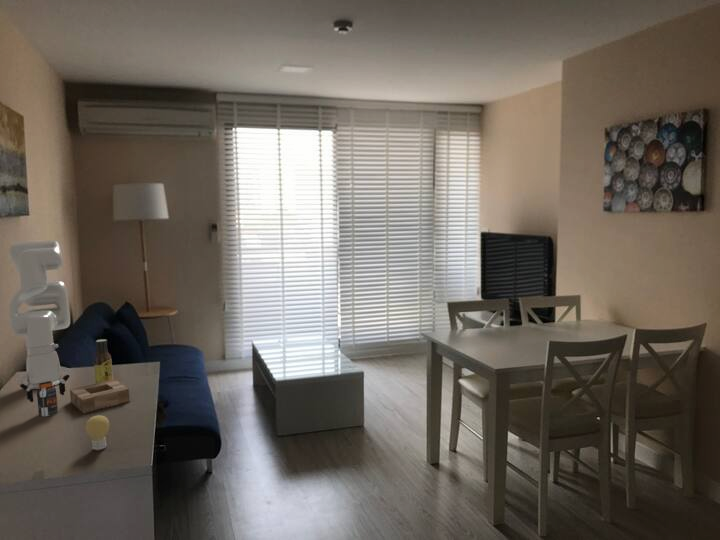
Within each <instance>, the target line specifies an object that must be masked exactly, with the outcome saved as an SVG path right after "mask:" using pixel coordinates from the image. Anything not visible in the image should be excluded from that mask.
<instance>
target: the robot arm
mask: <svg viewBox="0 0 720 540" xmlns="http://www.w3.org/2000/svg"><path fill="white" fill-rule="evenodd" d="M9 256H10V258H11V260H12V262H13V264H14V266H16V268H17V270H18V273H19V279H20V280H19V281H20V289H18V290H17V291H16V293H14V295H13V297H12V298H11V300H10V303H9V306H8V315H9V325H10V330H11V332H12V333H13V334H15V335H18V336H20V335H21V336H23V335H24V337H25V338H24V339H25V343H26V351H27V352H26V353H27V355H26V362H25V363H26V364H25V366H26V373H24V374H22V375H21V376H20V377H17V378H16V380H15V382H16V383H17V385H18V386H19V387H20V388H22V389H23V390H25V391H26V399H27V400H28V401H29V402H31V403H33V402H34V393H33V390H39V389H40V388H39V384H40V383H45V382H50V381H51V382H52V387H54V385H55V386H57V385H58V388H59V394H60V395H61V396H64V395H65V393H66V386H65V385H66V382H67V381H68V379H70V376H71V374H72V369H71V368H68V367H66V366H61V364H60V363H61V362H60V359H59V356H58V353H57V351H56V349H57V348H59V343H54V336H53V334H54V333H53V331H57V330H58V331H59V330H65V329H67V328H69V327H70V325H71V312H70V311H71V310H70V306H69V305H70V303H69V296H68V290H67V286H66V284H65V282H63V281H61V280H51V281H48V279H47V271H53V270H60V269H61V268H63V267H62V266H63V263H64V260H63V259H64V258H63V252H62V249H61V245H60V244H59V242H58V241H56V240H38V241H23V242H16V243H13V244H11V245H10V246H9ZM23 303H24V304H25V306H28V307H39V306H48V305H49V307H42V308H33V309H28V310H26V311H24V312H20V313H19V307H21V305H22V304H23ZM50 305H55V306H52V307H50ZM62 372H65V375H63V377H62ZM25 379H26V380H27V384H25V383H23V381H25Z"/></svg>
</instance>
